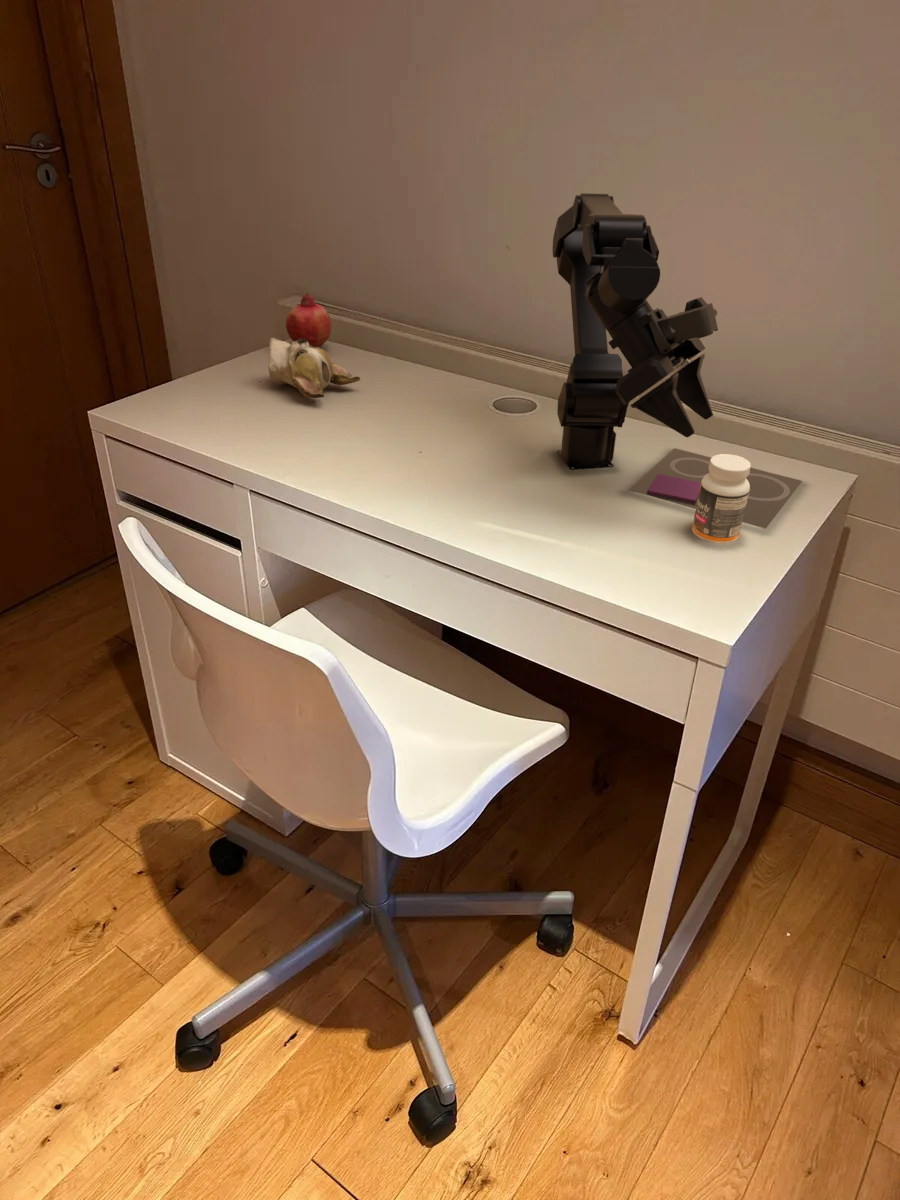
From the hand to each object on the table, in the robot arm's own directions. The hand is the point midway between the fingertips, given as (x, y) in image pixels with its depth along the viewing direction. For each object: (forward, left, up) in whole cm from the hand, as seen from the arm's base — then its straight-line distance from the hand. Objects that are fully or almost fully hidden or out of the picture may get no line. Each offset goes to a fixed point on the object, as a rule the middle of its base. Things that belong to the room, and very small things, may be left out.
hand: (700, 426), depth 113 cm
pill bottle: (+1, -6, -12) cm, 14 cm away
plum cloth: (+1, +6, -11) cm, 13 cm away
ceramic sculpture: (-44, +51, -12) cm, 68 cm away
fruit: (-41, +72, -12) cm, 84 cm away
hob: (+7, +6, -12) cm, 15 cm away
